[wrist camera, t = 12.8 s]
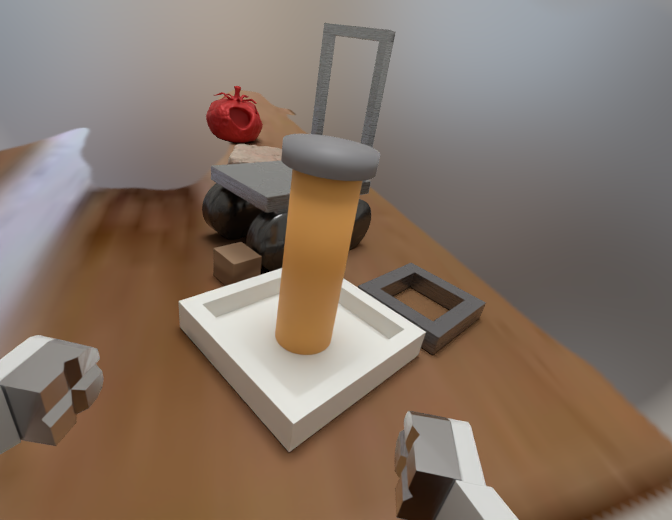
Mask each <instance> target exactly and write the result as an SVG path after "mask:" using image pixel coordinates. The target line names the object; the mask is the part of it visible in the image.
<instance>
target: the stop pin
mask: <svg viewBox="0 0 672 520" xmlns="http://www.w3.org/2000/svg"><path fill="white" fill-rule="evenodd" d="M379 158H380V153H379V152H378V151H377V150H376V149H374V148H372V147H370V146H367V145H364V144H361V143H358V142H354V141H350V140H347V139H342V138H337V137H330V136H323V135H315V134H292V135H287V136H285V137H284V138H283V146H282V157H281V160H282V162H283V163H284V164H285V165H286V166H288V167H289V168H291V169H293V170H292V179H291V189H290V198H289V208H288V217H287V226H286V236H285V245H284V255H283V264H282V274H281V283H280V292H279V302H278V311H277V321H276V330H275V337H276V340H277V342H278V343H279V344H280V346H282V347H283V348H284V349H286V350H288V351H290V352H292V353H295V354H300V355H312V354H317V353H320V352H322V351H324V350H325V349H326V348H327V347H328V346H329V345H330V342H331V338H332V333H333V328H334V323H335V318H336V313H337V308H338V303H339V298H340V292H341V287H342V282H343V277H344V272H345V267H346V262H347V257H348V252H349V247H350V242H351V237H352V232H353V226H354V221H355V216H356V211H357V206H358V201H359V196H360V191H361V186H362V181H363V180H369V179H372V178H374V177H375V176H376V172H377V167H378V162H379Z"/></svg>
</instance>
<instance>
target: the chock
mask: <svg viewBox="0 0 672 520" xmlns="http://www.w3.org/2000/svg"><path fill="white" fill-rule="evenodd" d="M261 259H262V256H260V255H259V254H257V253H256V252H255V251H253V250H252V249H251V248H249V247H248V246H246V245H245V244H244V243H242V242H238V243H233V244H229V245H225V246H221V247H217V248H214V276H215V277H216V278H217V279H219V280H220V281H221V282H222V283H223V284H224V285H225V286H228V285H231V284H234V283H237V282H240V281H243V280H246V279H249V278H252V277H256V276H259V275H260V273H261Z"/></svg>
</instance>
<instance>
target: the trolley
mask: <svg viewBox="0 0 672 520" xmlns="http://www.w3.org/2000/svg"><path fill="white" fill-rule="evenodd" d="M336 36H342V37H349V38H358V39H365V40H372V41H379V46H378V51H377V57H376V63H375V67H374V73H373V78H372V84H371V89H370V95H369V100H368V106H367V112H366V117H365V122H364V127H363V133H362V138H361V144H364V145H367V146H370V147H373V142H374V137H375V132H376V127H377V122H378V117H379V112H380V107H381V101H382V96H383V92H384V87H385V82H386V77H387V71H388V67H389V62H390V57H391V52H392V46H393V42H394V37H395V32H394V31H391V30H383V29H374V28H366V27H356V26H346V25H337V24H328V23H324V31H323V40H322V49H321V56H320V65H319V73H318V81H317V89H316V98H315V106H314V115H313V123H312V131H311V134H315V135H322V133H323V126H324V118H325V110H326V103H327V96H328V89H329V81H330V74H331V67H332V58H333V51H334V43H335V37H336ZM292 170H293V169H291V168H289V167H288V166H286V165H285V164H284V163H283V162H282V160H281V161H268V162H255V163H242V164H229V165H216V166H211V180H213V181H215V182H216V184H215V185H214V186H213V187H212V188H211V189H210V190H209V191H208V193H207V194H206V196H205V198H204V201H203V207H202V211H203V217H204V219H205V221H206V223H207V224H208V225H209V226H210V227H211V228H213V229H214V230H215V231H217V232H218V233H219V234H221V235H222V236H224V237H226V238H229V239H239V238H242V237H244V236H246V235H247V238H246V246H248V247H249V248H251V249H252V250H253V251H255V252H256V253H257V254H259V255H260V256H262V259H261V265H262V266H263V267H265V268H266V269H267V270H269V271H274V270H277V269H280V268H282V264H283V255H284V245H285V236H286V226H287V217H288V208H289V198H290V189H291V179H292ZM370 183H371V181H369V180H363V181H362V186H361V191H360V195H362V194H367V193H369V188H370ZM370 221H371V210H370V207H369V205H368V204H367V203H366V202H365V201H363V200H361V199H359V201H358V206H357V211H356V216H355V221H354V226H353V232H352V237H351V242H350V247H349V250H351V249H352V248H354V247H355V246H357V245H358V244H359V243H360V241H361V240H362V239H363V237H364V236H365V234H366V232H367V230H368V228H369V225H370Z"/></svg>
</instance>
